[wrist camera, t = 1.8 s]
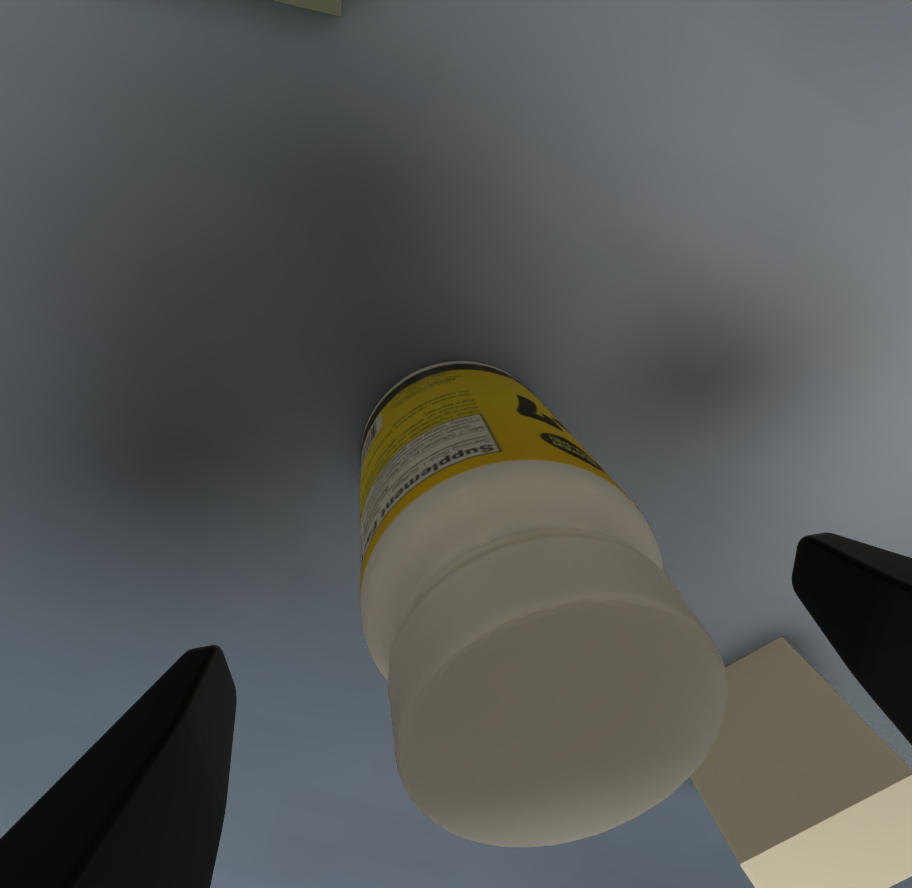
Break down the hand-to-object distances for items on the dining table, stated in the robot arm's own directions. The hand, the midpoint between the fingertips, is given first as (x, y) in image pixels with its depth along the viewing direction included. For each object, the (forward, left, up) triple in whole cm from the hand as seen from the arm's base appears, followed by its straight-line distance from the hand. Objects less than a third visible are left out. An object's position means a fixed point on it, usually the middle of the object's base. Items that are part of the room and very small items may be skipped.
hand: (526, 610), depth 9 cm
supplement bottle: (0, 0, -6) cm, 6 cm away
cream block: (-9, +12, -6) cm, 16 cm away
